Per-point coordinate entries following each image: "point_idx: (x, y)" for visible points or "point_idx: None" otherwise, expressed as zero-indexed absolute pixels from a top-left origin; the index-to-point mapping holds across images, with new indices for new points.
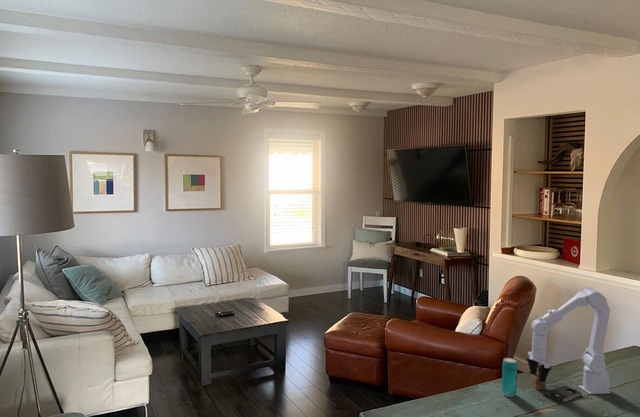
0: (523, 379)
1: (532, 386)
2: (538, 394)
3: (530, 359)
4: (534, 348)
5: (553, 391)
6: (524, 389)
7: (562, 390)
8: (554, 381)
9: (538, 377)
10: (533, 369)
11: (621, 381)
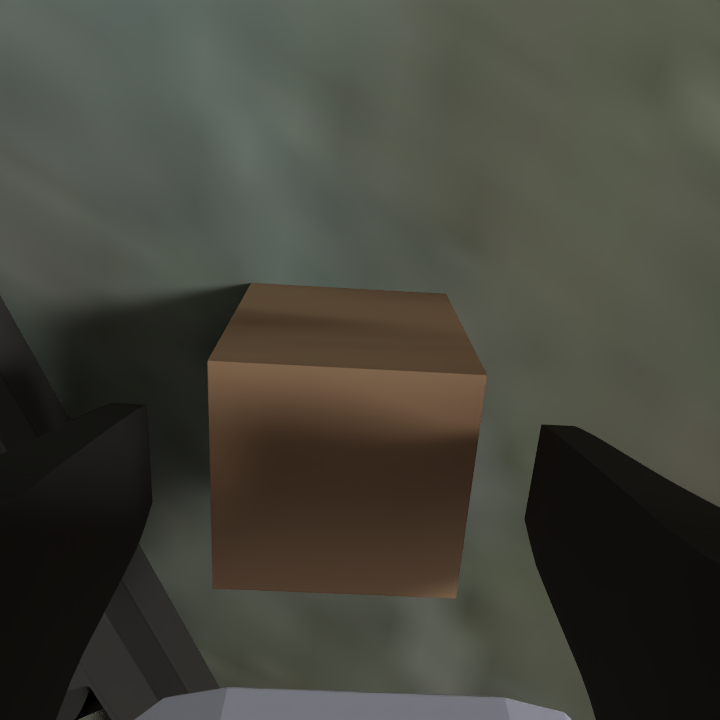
0: (710, 313)
1: (366, 293)
2: (40, 217)
3: (233, 688)
4: None
5: None
6: (280, 61)
7: None
8: None
9: (274, 460)
10: (582, 545)
11: None
